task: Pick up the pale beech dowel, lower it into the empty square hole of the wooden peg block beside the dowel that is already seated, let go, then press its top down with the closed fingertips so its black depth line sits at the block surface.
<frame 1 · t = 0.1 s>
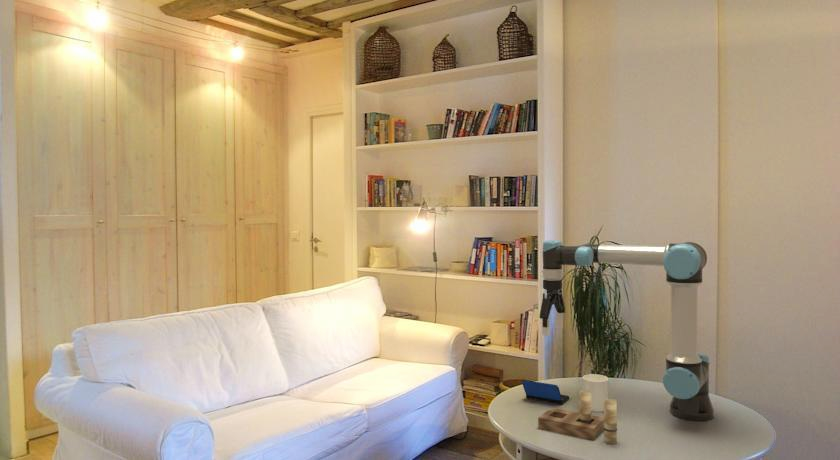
hand: (552, 331, 242), 28 cm above the table, fingers open, 13 cm apart
beech peg: (610, 441, 201), on the table
candle holder: (595, 408, 233), on the table
handheld game console: (546, 401, 244), on the table
wooden peg block: (571, 428, 213), on the table
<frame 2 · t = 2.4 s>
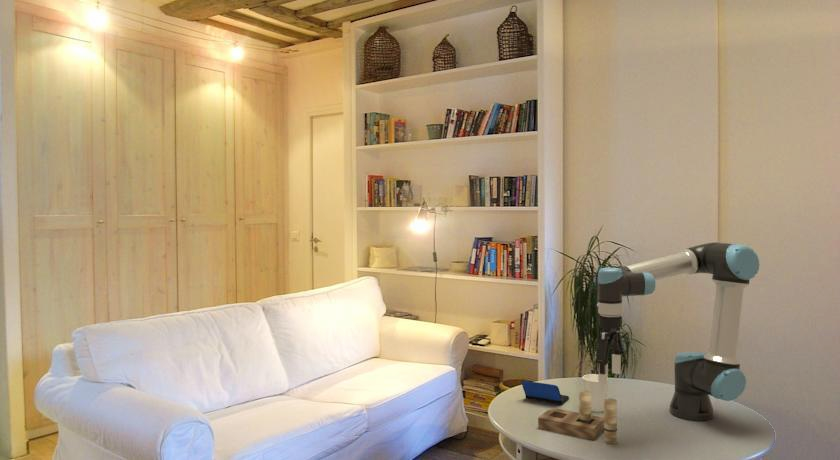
hand: (609, 378, 200), 21 cm above the table, fingers open, 13 cm apart
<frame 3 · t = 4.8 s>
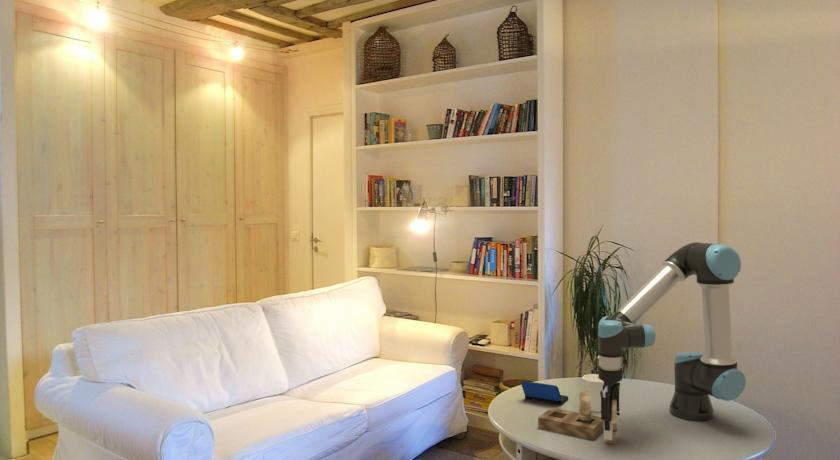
hand: (610, 436, 201), 2 cm above the table, fingers closed on beech peg, 4 cm apart
beech peg: (610, 441, 201), on the table, touching gripper
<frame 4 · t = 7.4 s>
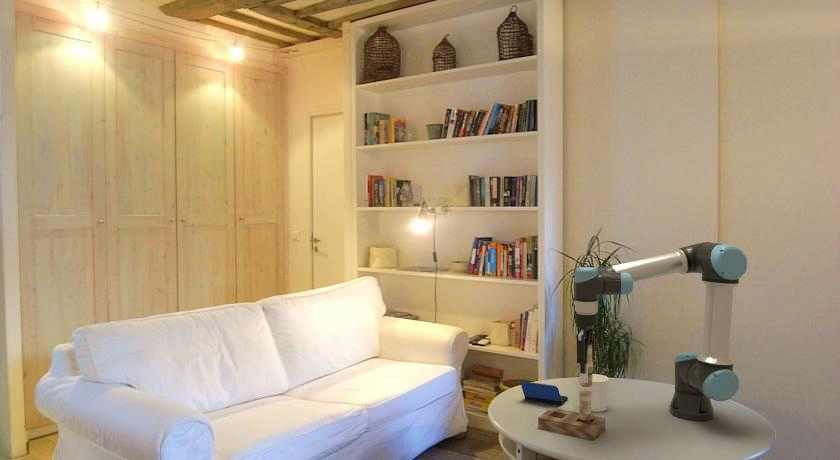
hand: (585, 380, 207), 19 cm above the table, fingers closed on beech peg, 4 cm apart
beech peg: (586, 385, 207), point 17 cm above the table, touching gripper
when the fingers open (5 cm above the table, at t = 10.1 s): beech peg drops 3 cm, resting in wooden peg block.
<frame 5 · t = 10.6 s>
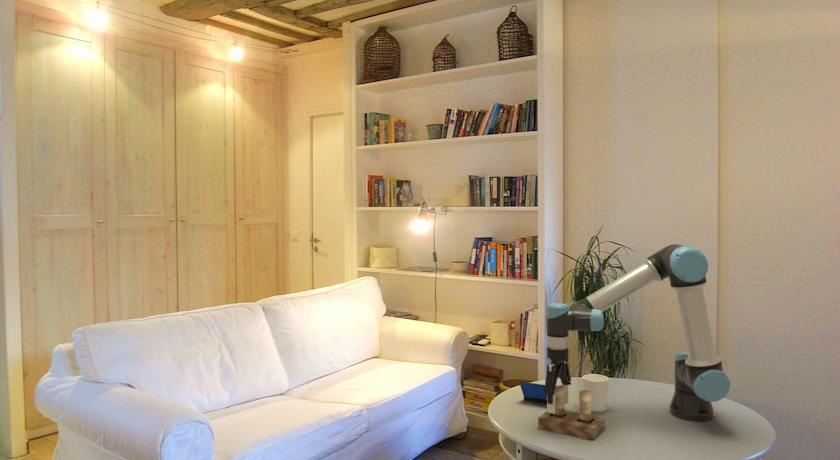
hand: (558, 407, 216), 7 cm above the table, fingers open, 11 cm apart
beech peg: (558, 425, 216), resting in wooden peg block
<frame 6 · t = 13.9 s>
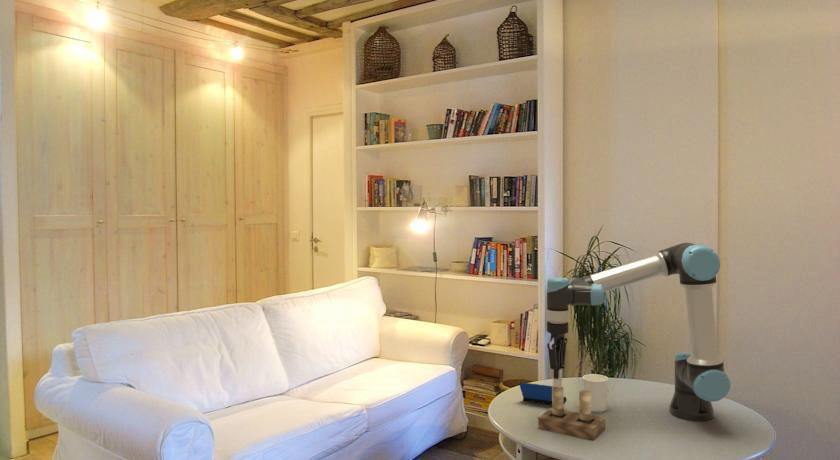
hand: (557, 386, 215), 14 cm above the table, fingers closed
beech peg: (558, 426, 216), resting in wooden peg block, touching gripper
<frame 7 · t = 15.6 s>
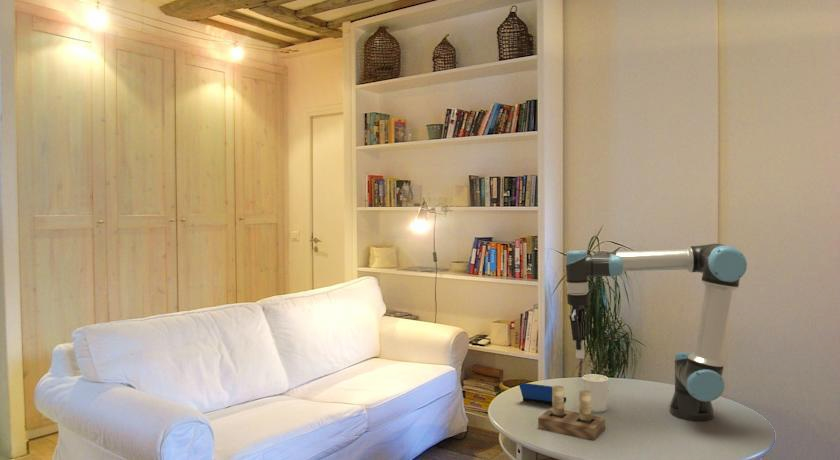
hand: (580, 357, 219), 23 cm above the table, fingers closed
beech peg: (558, 425, 216), resting in wooden peg block
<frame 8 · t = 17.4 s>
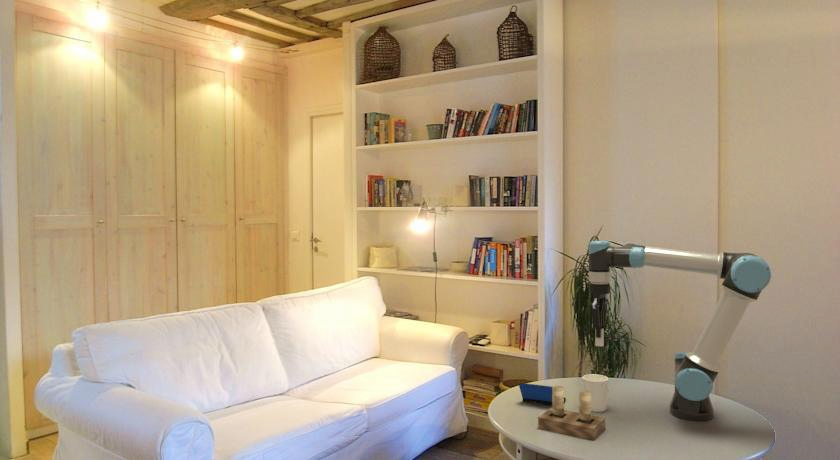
hand: (599, 345, 224), 26 cm above the table, fingers closed
at the end: beech peg 0.1 cm from the target spot on the wooden peg block, point 0.0 cm above the wooden peg block's base; beech peg tilted 0°; the gripper is holding nothing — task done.
